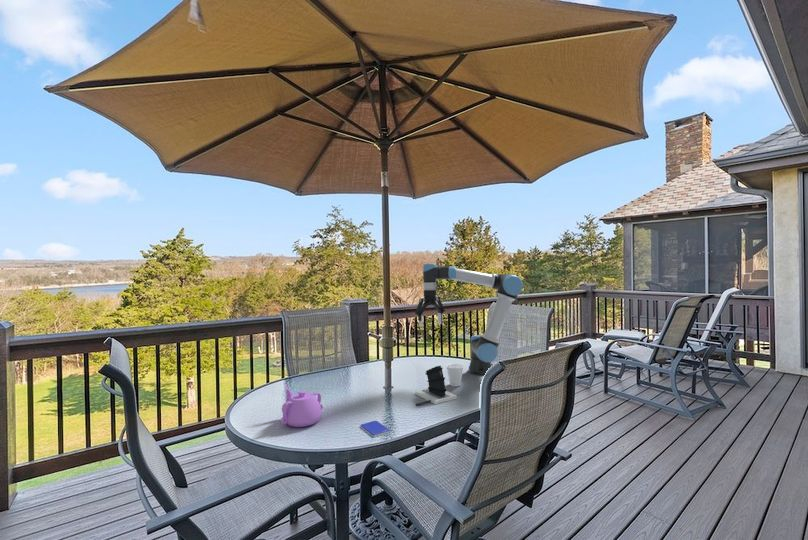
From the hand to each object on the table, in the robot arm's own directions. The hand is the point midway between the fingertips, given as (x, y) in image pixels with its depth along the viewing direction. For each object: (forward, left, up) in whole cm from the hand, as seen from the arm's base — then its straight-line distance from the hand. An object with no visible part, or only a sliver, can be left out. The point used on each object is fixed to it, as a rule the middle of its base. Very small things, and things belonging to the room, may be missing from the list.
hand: (430, 325), depth 235 cm
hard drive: (+60, +41, -34) cm, 80 cm away
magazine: (+15, +24, -31) cm, 42 cm away
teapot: (+84, +13, -33) cm, 91 cm away
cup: (-5, +16, -33) cm, 37 cm away
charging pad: (+19, +24, -33) cm, 45 cm away
